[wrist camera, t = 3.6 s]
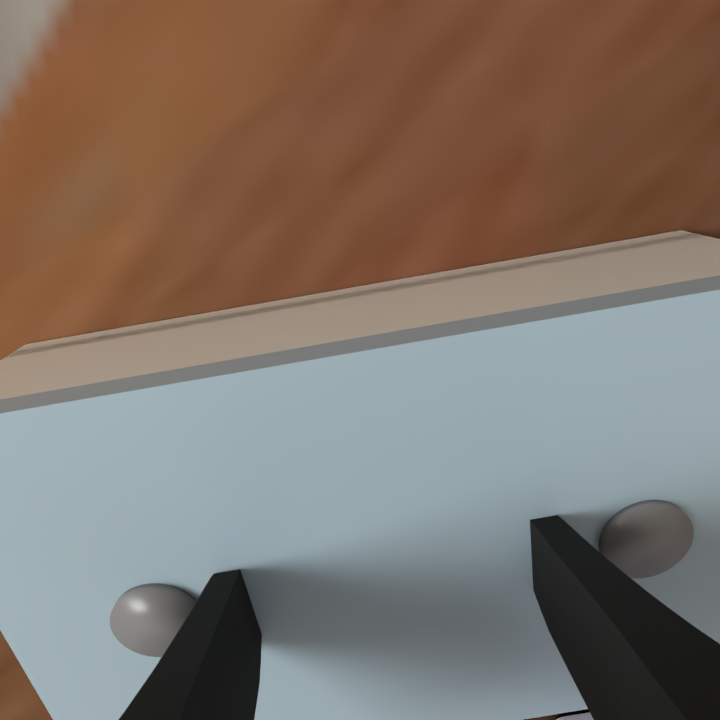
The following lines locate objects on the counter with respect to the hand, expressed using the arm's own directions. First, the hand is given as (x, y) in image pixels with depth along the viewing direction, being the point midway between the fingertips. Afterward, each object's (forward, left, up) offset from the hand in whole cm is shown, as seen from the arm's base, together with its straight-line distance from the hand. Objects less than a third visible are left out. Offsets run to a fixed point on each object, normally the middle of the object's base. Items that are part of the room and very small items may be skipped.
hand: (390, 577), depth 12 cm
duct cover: (0, 0, -1) cm, 1 cm away
